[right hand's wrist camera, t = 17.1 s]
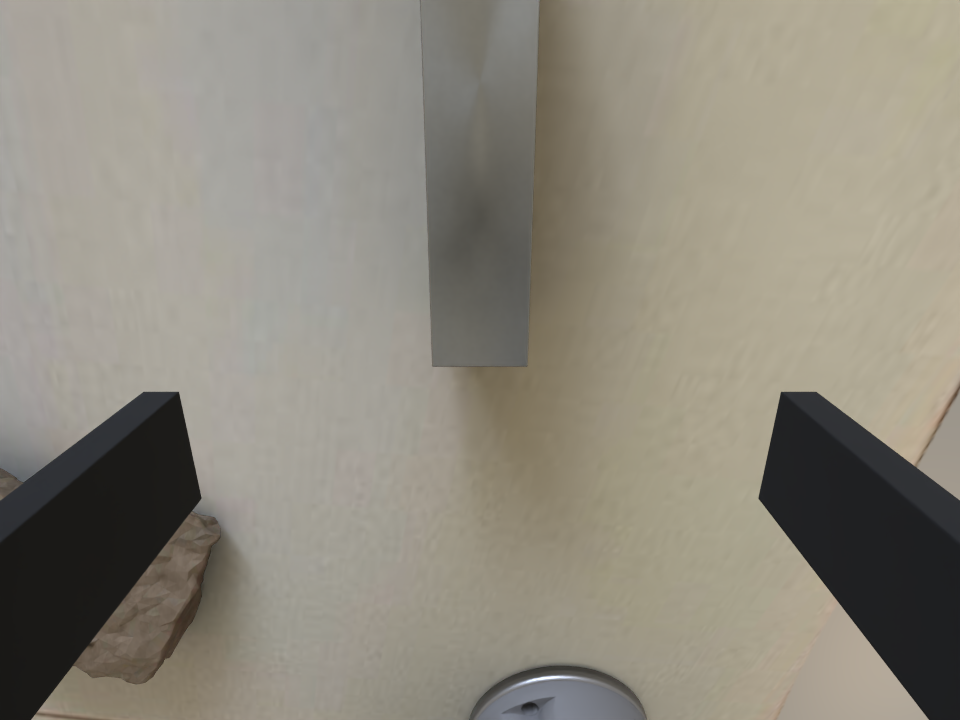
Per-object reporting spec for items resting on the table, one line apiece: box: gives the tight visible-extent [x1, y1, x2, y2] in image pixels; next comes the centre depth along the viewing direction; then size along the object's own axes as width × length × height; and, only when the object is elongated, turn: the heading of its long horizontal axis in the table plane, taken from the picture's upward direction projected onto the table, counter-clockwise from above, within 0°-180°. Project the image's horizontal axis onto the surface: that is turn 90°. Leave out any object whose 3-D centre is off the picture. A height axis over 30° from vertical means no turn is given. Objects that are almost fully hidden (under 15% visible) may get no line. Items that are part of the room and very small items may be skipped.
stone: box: [0, 469, 220, 684], centre depth 39 cm, size 21×15×6 cm
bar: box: [420, 0, 540, 367], centre depth 27 cm, size 25×5×8 cm, turn 0°
